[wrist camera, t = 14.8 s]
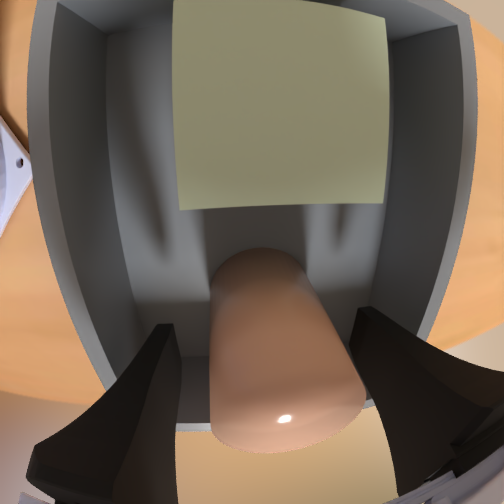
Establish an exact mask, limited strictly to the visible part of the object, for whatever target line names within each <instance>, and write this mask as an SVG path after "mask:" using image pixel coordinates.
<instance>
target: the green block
mask: <svg viewBox="0 0 504 504" xmlns="http://www.w3.org/2000/svg"><path fill="white" fill-rule="evenodd" d="M172 102H173V128H174V146H175V162H176V175H177V187H178V198H179V209H180V210H193V209H207V208H224V207H242V206H264V205H291V204H342V203H383V199H384V190H385V180H386V169H387V155H388V137H389V64H388V47H387V35H386V25H385V18H382V17H378V16H375V15H371V14H368V13H364V12H360V11H356V10H352V9H347V8H343V7H338V6H333V5H328V4H322V3H316V2H309V1H302V0H174V1H173V24H172Z"/></svg>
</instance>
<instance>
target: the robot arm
mask: <svg viewBox="0 0 504 504" xmlns="http://www.w3.org/2000/svg"><path fill="white" fill-rule="evenodd" d="M21 158H22V159H23V166H22V165H21ZM32 179H33V176H32V169H31V161H30V155H29V153H28V152H27V151H26V150H25V148H24V147H23V146H22V144H21V143H20V142H19V140H18V139H17V138H16V136H15V135H14V134H13V132H12V131H11V130H10V128H9V127H8V126H7V124H6V123H5V121H4V120H3V118H2V117H1V116H0V237H1V235H2V233H3V231H4V229H5V227H6V225H7V223H8V221H9V219H10V217H11V215H12V213H13V211H14V210H15V208H16V206H17V204H18V202H19V201H20V199H21V197H22V195H23V194H24V192H25V190H26V189H27V187H28V185H29V184H30V182H31V180H32ZM349 348H350V351H351V354H352V357H353V360H354V363H355V365H356V367H357V369H358V371H359V373H360V375H361V377H362V379H363V381H364V383H365V385H366V387H367V389H368V391H369V393H370V395H371V397H372V399H373V401H374V403H375V405H376V408H377V410H378V412H379V414H380V418H381V421H382V424H383V427H384V430H385V433H386V436H387V440H388V444H389V447H390V452H391V456H392V461H393V465H394V471H395V478H396V485H397V493H398V495H399V497H398V498H396V499H393V500H391V501H389V502H386V503H384V504H422V503H424V502H425V503H424V504H501V503H502V502H503V501H504V372H501V371H496V370H491V369H488V368H484V367H481V366H478V365H475V364H472V363H468V362H466V361H464V360H461V359H459V358H456V357H454V356H452V355H449V354H448V353H446V352H444V351H442V350H440V349H438V348H436V347H434V346H432V345H430V344H429V343H427V342H425V341H424V340H422V339H420V338H419V337H417V336H416V335H414V334H412V333H411V332H409V331H408V330H406V329H405V328H403V327H402V326H400V325H399V324H398V323H396V322H395V321H393V320H392V319H390V318H389V317H387V316H386V315H384V314H383V313H381V312H380V311H378V310H377V309H375V308H373V307H372V306H366V307H359V308H358V309H357V313H356V317H355V321H354V325H353V329H352V333H351V337H350V341H349ZM181 381H182V360H181V356H180V351H179V347H178V343H177V338H176V334H175V329H174V325H173V323H168V324H157V325H156V326H155V327H154V329H153V331H152V332H151V334H150V335H149V337H148V338H147V340H146V341H145V343H144V344H143V346H142V347H141V349H140V350H139V351H138V353H137V354H136V356H135V357H134V358H133V360H132V361H131V363H130V364H129V365H128V367H127V368H126V369H125V370H124V371H123V373H122V374H121V375H120V377H119V378H118V379H117V380H116V381H115V383H114V384H113V385H112V386H111V387H110V388H109V389H108V390H107V391H106V392H105V393H104V394H103V396H102V397H101V398H100V399H99V400H97V401H96V402H95V403H94V404H93V405H92V406H91V407H90V408H89V409H88V410H87V411H85V412H84V413H83V414H82V415H81V416H79V417H78V418H77V419H76V420H74V421H73V422H72V423H70V424H69V425H67V426H66V427H65V428H63V429H62V430H60V431H59V432H57V433H55V434H54V435H52V436H51V437H49V438H47V439H45V440H44V441H42V442H40V443H38V444H36V445H35V446H34V449H33V452H32V455H31V458H30V462H29V466H28V469H27V473H26V478H27V480H28V481H29V482H30V483H31V484H32V485H33V486H35V487H36V488H38V489H39V490H41V491H42V492H44V493H45V494H47V495H49V496H50V497H52V498H54V499H55V504H178V497H177V485H176V468H175V432H176V423H177V415H178V407H179V399H180V391H181ZM18 504H49V503H47V502H45V501H42V500H39V499H37V498H35V497H33V496H30V495H28V494H26V493H24V492H21V493H20V498H19V503H18Z"/></svg>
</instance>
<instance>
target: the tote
mask: <svg viewBox="0 0 504 504" xmlns="http://www.w3.org/2000/svg"><path fill="white" fill-rule="evenodd" d="M173 1H174V0H37V5H36V10H35V15H34V21H33V27H32V34H31V41H30V50H29V61H28V76H27V124H28V140H29V152H30V161H31V169H32V176H33V183H34V189H35V195H36V201H37V206H38V211H39V216H40V220H41V225H42V229H43V233H44V237H45V241H46V245H47V248H48V252H49V256H50V259H51V262H52V266H53V269H54V272H55V275H56V278H57V281H58V284H59V287H60V290H61V293H62V296H63V298H64V301H65V304H66V306H67V309H68V312H69V314H70V317H71V319H72V322H73V324H74V326H75V329H76V331H77V333H78V336H79V338H80V340H81V342H82V345H83V347H84V349H85V351H86V353H87V355H88V357H89V359H90V361H91V363H92V365H93V367H94V369H95V371H96V373H97V375H98V377H99V379H100V381H101V383H102V384H103V386H104V388H105V390H106V391H107V390H108V389H109V388H110V387H111V386H112V385H113V384H114V383H115V381H116V380H117V379H118V378H119V377H120V375H121V374H122V373H123V371H124V370H125V369H126V368H127V367H128V365H129V364H130V363H131V361H132V360H133V358H134V357H135V356H136V354H137V353H138V351H139V350H140V349H141V347H142V346H143V344H144V343H145V341H146V340H147V338H148V337H149V335H150V334H151V332H152V331H153V329H154V327H155V326H156V325H157V324H168V323H173V325H174V329H175V334H176V338H177V343H178V347H179V351H180V356H181V360H182V381H181V391H180V399H179V407H178V415H177V423H176V431H212V430H211V425H210V378H209V325H210V286H211V282H212V279H213V277H214V275H215V273H216V271H217V270H218V268H219V267H220V266H221V265H222V264H223V263H224V262H225V261H226V260H227V259H228V258H230V257H232V256H233V255H235V254H237V253H239V252H241V251H244V250H247V249H252V248H260V247H265V248H274V249H278V250H281V251H283V252H286V253H288V254H289V255H291V256H292V257H293V258H295V259H296V260H297V261H298V262H299V264H300V265H301V266H302V268H303V270H304V271H305V273H306V275H307V277H308V279H309V281H310V282H311V284H312V286H313V288H314V290H315V292H316V294H317V295H318V297H319V299H320V301H321V303H322V305H323V307H324V309H325V310H326V312H327V314H328V316H329V318H330V320H331V322H332V324H333V326H334V328H335V330H336V331H337V333H338V335H339V337H340V339H341V341H342V343H343V345H344V347H345V349H346V351H347V353H348V355H349V357H350V359H351V361H352V363H353V365H354V367H355V369H356V371H357V373H358V375H359V377H360V379H361V381H362V383H363V385H364V387H365V390H366V401H365V404H364V406H363V408H362V409H364V408H368V407H372V406H375V403H374V401H373V399H372V397H371V395H370V393H369V391H368V389H367V387H366V385H365V383H364V381H363V379H362V377H361V375H360V373H359V371H358V369H357V367H356V365H355V363H354V360H353V357H352V354H351V351H350V348H349V341H350V337H351V333H352V329H353V325H354V321H355V317H356V313H357V309H358V308H359V307H366V306H372V307H373V308H375V309H377V310H378V311H380V312H381V313H383V314H384V315H386V316H387V317H389V318H390V319H392V320H393V321H395V322H396V323H398V324H399V325H400V326H402V327H403V328H405V329H406V330H408V331H409V332H411V333H412V334H414V335H416V336H417V337H419V338H420V339H422V340H424V341H425V342H426V340H427V338H428V336H429V333H430V331H431V328H432V326H433V324H434V321H435V319H436V316H437V314H438V311H439V308H440V306H441V303H442V300H443V297H444V294H445V292H446V289H447V286H448V283H449V279H450V276H451V273H452V270H453V267H454V263H455V260H456V256H457V252H458V249H459V245H460V241H461V237H462V233H463V228H464V224H465V219H466V214H467V209H468V204H469V198H470V192H471V186H472V179H473V171H474V162H475V152H476V139H477V115H478V96H477V73H476V60H475V51H474V43H473V35H472V29H471V23H470V18H469V15H468V14H466V13H465V12H463V11H461V10H460V9H458V8H456V7H454V6H453V5H451V4H449V3H447V2H445V1H444V0H302V1H309V2H316V3H322V4H328V5H333V6H338V7H343V8H347V9H352V10H356V11H360V12H364V13H368V14H371V15H375V16H378V17H382V18H385V25H386V35H387V47H388V64H389V137H388V155H387V169H386V180H385V190H384V199H383V203H342V204H291V205H264V206H242V207H224V208H207V209H193V210H180V209H179V198H178V187H177V175H176V162H175V146H174V128H173V102H172V24H173Z"/></svg>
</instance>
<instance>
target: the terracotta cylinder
mask: <svg viewBox="0 0 504 504" xmlns="http://www.w3.org/2000/svg"><path fill="white" fill-rule="evenodd" d="M209 378H210V425H211V430H212V433H213V434H214V436H215V437H216V438H217V439H218V440H219V441H220V442H222V443H223V444H225V445H227V446H229V447H231V448H234V449H238V450H241V451H246V452H252V453H279V452H286V451H292V450H297V449H300V448H304V447H308V446H310V445H313V444H316V443H318V442H321V441H323V440H325V439H327V438H329V437H331V436H333V435H335V434H336V433H338V432H339V431H341V430H342V429H344V428H345V427H346V426H348V425H349V424H350V423H351V422H352V421H353V420H354V419H355V418H356V416H358V414H359V413H360V412H361V410H362V408H363V406H364V404H365V401H366V390H365V387H364V385H363V383H362V381H361V379H360V377H359V375H358V373H357V371H356V369H355V367H354V365H353V363H352V361H351V359H350V357H349V355H348V353H347V351H346V349H345V347H344V345H343V343H342V341H341V339H340V337H339V335H338V333H337V331H336V330H335V328H334V326H333V324H332V322H331V320H330V318H329V316H328V314H327V312H326V310H325V309H324V307H323V305H322V303H321V301H320V299H319V297H318V295H317V294H316V292H315V290H314V288H313V286H312V284H311V282H310V281H309V279H308V277H307V275H306V273H305V271H304V270H303V268H302V266H301V265H300V264H299V262H298V261H297V260H296V259H295V258H293V257H292V256H291V255H289V254H288V253H286V252H283V251H281V250H278V249H274V248H265V247H260V248H252V249H247V250H244V251H241V252H239V253H237V254H235V255H233V256H232V257H230V258H228V259H227V260H226V261H225V262H224V263H223V264H222V265H221V266H220V267H219V268H218V270H217V271H216V273H215V275H214V277H213V279H212V282H211V286H210V325H209Z"/></svg>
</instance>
